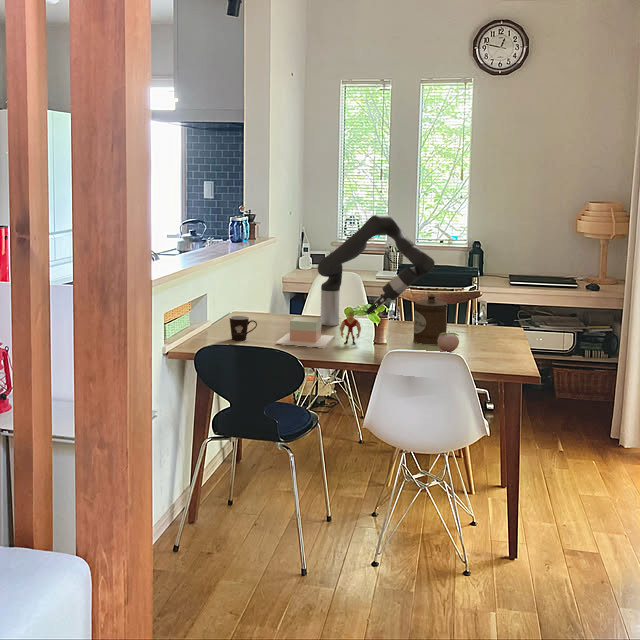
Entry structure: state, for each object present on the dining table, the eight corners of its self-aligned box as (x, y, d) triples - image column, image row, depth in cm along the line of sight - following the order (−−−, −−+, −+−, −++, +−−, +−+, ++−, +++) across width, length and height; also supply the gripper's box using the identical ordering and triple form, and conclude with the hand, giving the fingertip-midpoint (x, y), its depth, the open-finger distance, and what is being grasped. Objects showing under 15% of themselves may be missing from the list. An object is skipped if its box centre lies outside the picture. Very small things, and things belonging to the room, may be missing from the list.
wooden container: (410, 338, 377) (412, 291, 372) (441, 338, 378) (444, 291, 374) (416, 345, 362) (419, 296, 358) (449, 345, 364) (452, 297, 359)
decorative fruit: (444, 356, 342) (445, 333, 340) (433, 352, 350) (435, 329, 348) (462, 354, 346) (464, 331, 344) (452, 350, 353) (453, 328, 352)
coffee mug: (226, 340, 363) (226, 318, 361) (234, 336, 371) (234, 315, 369) (249, 342, 359) (249, 320, 357) (257, 339, 367) (257, 317, 365)
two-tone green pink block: (288, 334, 377) (288, 313, 375) (334, 338, 373) (335, 316, 371) (275, 344, 356) (275, 322, 354) (324, 348, 352) (324, 325, 350)
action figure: (338, 343, 361) (339, 310, 358) (339, 342, 364) (340, 309, 362) (360, 345, 360) (361, 311, 357) (360, 343, 363) (361, 310, 360)
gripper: (392, 278, 360) (365, 302, 364) (387, 283, 346) (360, 307, 351) (403, 291, 360) (376, 314, 364) (399, 296, 346) (371, 320, 351)
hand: (368, 311), depth 358 cm, fingers open, 8 cm apart
